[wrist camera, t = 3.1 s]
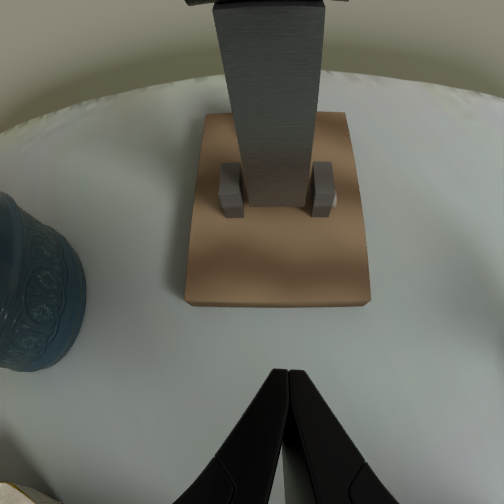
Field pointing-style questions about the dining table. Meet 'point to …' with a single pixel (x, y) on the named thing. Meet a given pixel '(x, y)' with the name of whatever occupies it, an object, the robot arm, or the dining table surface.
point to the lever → (272, 90)
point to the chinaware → (22, 495)
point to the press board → (277, 229)
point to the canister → (36, 291)
